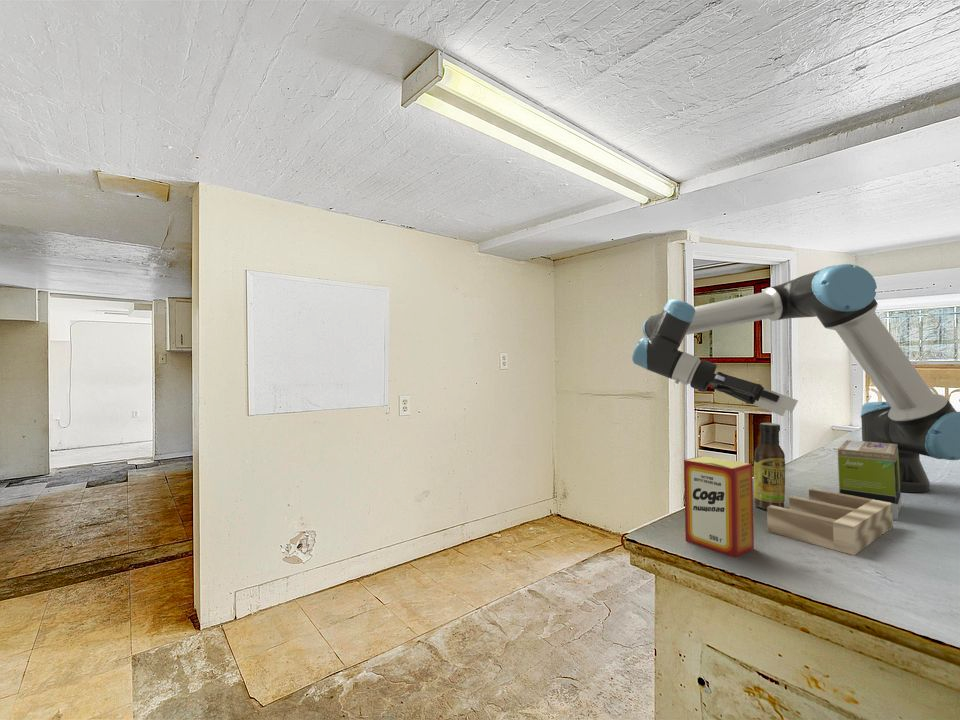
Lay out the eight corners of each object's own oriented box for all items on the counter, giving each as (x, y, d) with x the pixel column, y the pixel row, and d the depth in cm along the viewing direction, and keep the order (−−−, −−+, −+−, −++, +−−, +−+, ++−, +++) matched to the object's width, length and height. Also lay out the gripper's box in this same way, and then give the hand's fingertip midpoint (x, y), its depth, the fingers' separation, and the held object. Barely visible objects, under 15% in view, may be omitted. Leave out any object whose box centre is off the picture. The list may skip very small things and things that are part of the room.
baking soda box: (685, 540, 87) (684, 458, 87) (703, 533, 90) (702, 454, 91) (736, 557, 79) (734, 466, 79) (753, 548, 82) (752, 462, 83)
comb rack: (812, 509, 104) (812, 488, 104) (892, 527, 92) (892, 502, 92) (767, 531, 91) (767, 506, 91) (854, 555, 79) (853, 526, 79)
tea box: (847, 497, 113) (846, 438, 113) (901, 505, 106) (900, 443, 106) (838, 511, 102) (837, 447, 103) (898, 521, 95) (896, 452, 96)
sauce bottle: (763, 512, 103) (761, 425, 103) (748, 503, 109) (746, 422, 109) (792, 512, 102) (790, 425, 102) (776, 503, 108) (774, 421, 109)
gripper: (690, 391, 123) (775, 426, 113) (686, 379, 101) (791, 420, 91) (701, 366, 123) (788, 399, 113) (700, 349, 101) (807, 387, 91)
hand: (790, 408), depth 102 cm, fingers open, 13 cm apart
